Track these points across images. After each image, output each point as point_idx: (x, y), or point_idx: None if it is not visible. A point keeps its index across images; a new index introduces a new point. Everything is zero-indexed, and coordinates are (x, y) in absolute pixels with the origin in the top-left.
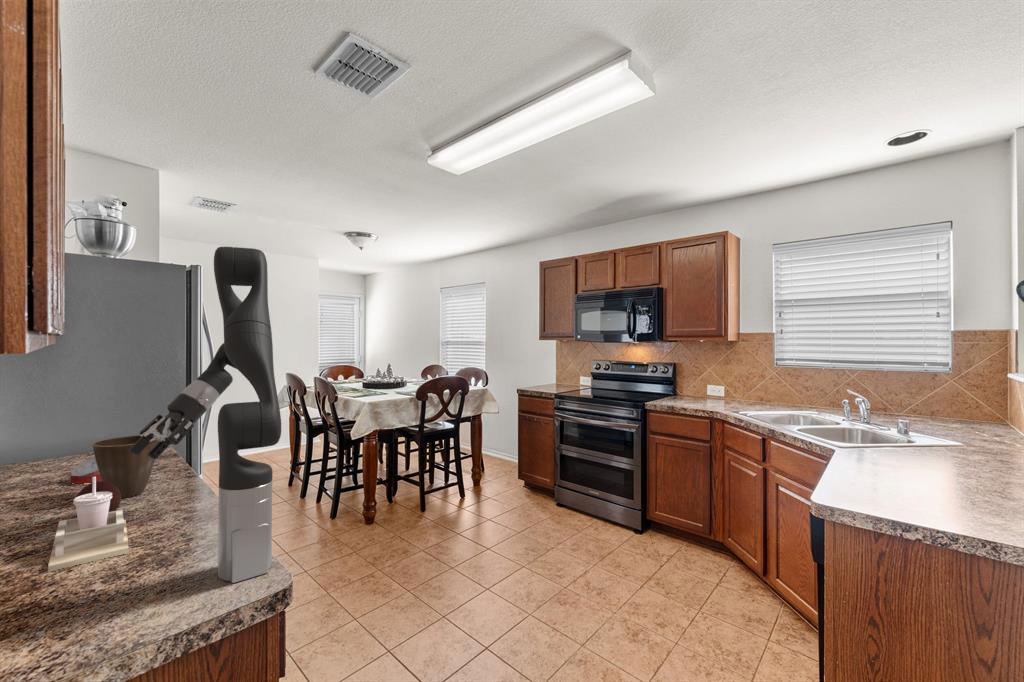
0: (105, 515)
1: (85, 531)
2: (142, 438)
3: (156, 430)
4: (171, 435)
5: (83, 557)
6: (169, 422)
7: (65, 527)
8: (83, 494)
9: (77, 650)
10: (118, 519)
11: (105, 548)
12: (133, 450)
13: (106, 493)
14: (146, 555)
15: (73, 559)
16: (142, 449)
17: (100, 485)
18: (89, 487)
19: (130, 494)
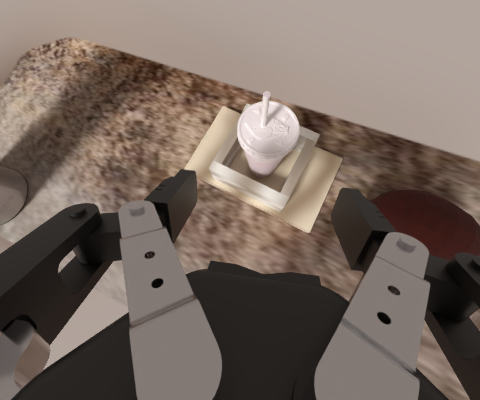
0: (246, 156)
1: (231, 130)
2: (368, 229)
3: (317, 277)
4: (61, 220)
5: (209, 131)
6: (133, 320)
7: None
8: (414, 193)
9: (48, 62)
10: (235, 174)
11: (211, 156)
12: (340, 199)
13: (265, 148)
14: (157, 177)
15: (215, 125)
16: (338, 234)
17: (425, 221)
18: (433, 204)
19: None
